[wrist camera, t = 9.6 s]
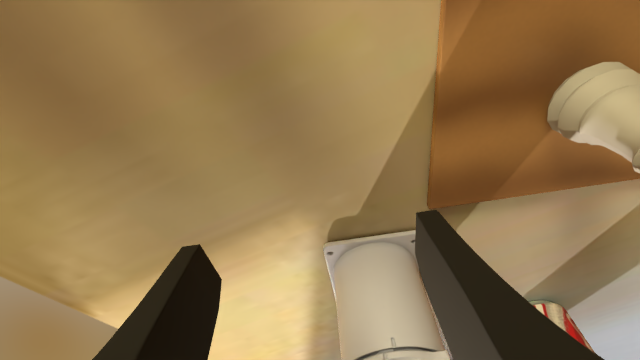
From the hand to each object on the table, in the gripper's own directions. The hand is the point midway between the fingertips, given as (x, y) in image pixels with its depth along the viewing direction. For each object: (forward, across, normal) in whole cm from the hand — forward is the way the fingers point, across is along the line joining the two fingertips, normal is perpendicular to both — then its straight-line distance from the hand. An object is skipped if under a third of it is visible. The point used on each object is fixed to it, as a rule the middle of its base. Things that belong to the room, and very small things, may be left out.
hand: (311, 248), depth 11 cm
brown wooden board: (+10, -16, +2) cm, 19 cm away
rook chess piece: (+10, -16, +2) cm, 19 cm away
